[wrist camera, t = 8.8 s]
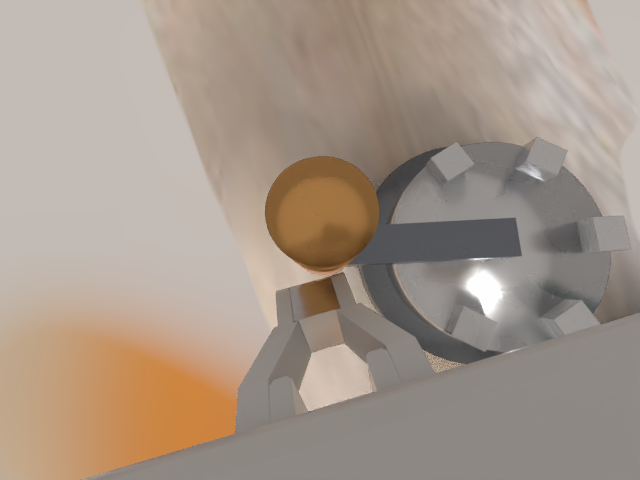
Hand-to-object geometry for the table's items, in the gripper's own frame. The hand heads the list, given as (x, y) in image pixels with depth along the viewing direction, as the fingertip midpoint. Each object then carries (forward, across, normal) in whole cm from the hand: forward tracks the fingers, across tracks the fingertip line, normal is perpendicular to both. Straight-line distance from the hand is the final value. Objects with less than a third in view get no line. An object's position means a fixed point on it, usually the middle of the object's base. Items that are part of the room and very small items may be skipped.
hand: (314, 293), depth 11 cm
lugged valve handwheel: (+6, -8, +5) cm, 11 cm away
